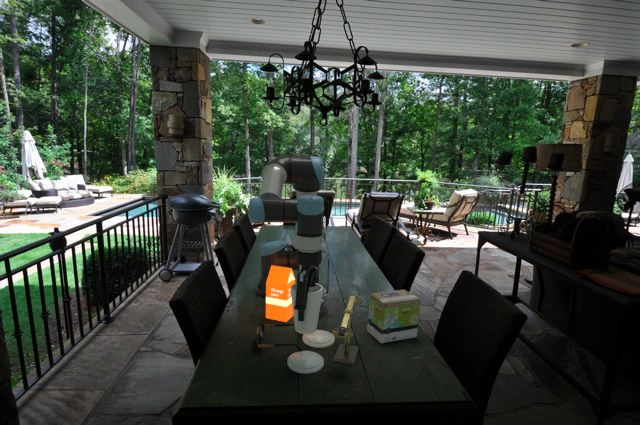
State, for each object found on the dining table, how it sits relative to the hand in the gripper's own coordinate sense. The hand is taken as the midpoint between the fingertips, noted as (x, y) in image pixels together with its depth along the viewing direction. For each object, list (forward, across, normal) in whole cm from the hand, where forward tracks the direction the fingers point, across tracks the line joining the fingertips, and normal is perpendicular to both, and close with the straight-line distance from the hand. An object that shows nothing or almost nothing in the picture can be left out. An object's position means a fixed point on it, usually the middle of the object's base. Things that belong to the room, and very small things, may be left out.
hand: (306, 322), depth 107 cm
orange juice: (+13, +28, +19) cm, 36 cm away
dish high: (+13, +15, 0) cm, 20 cm away
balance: (+13, +8, -11) cm, 19 cm away
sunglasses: (+14, +9, +12) cm, 20 cm away
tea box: (+13, +27, -24) cm, 39 cm away
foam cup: (+2, 0, 0) cm, 2 cm away
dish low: (+13, 0, 0) cm, 13 cm away
